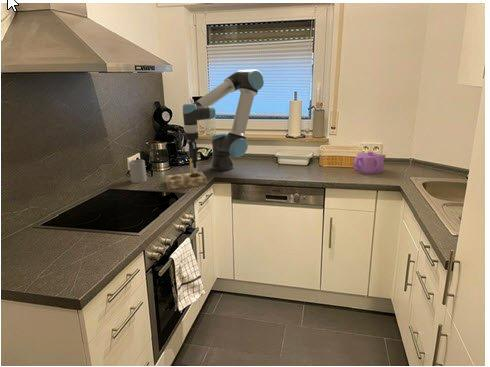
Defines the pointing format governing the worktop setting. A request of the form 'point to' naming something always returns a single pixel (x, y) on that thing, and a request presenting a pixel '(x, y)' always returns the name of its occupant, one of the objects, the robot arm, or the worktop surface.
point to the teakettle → (369, 163)
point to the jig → (185, 180)
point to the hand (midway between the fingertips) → (194, 171)
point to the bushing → (192, 169)
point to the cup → (137, 171)
